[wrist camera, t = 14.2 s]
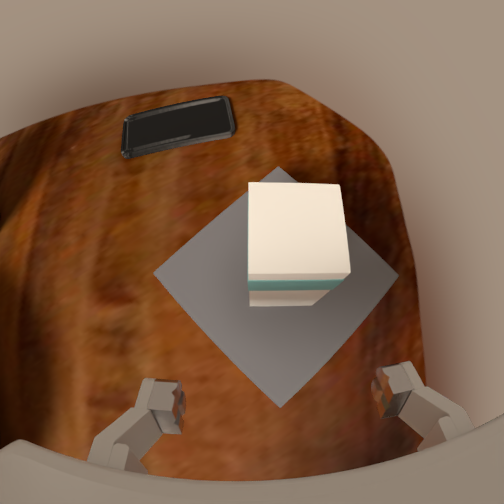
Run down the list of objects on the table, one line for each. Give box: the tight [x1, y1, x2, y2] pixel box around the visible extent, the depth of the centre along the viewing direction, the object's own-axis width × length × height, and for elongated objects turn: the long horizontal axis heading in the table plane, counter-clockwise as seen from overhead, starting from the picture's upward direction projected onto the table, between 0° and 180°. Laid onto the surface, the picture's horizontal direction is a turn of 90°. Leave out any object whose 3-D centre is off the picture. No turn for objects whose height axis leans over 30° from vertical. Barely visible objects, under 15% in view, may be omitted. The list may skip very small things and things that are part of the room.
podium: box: [154, 167, 399, 408], centre depth 27 cm, size 15×15×5 cm
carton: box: [248, 182, 351, 306], centre depth 20 cm, size 5×5×10 cm
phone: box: [121, 96, 235, 159], centre depth 36 cm, size 8×1×15 cm
